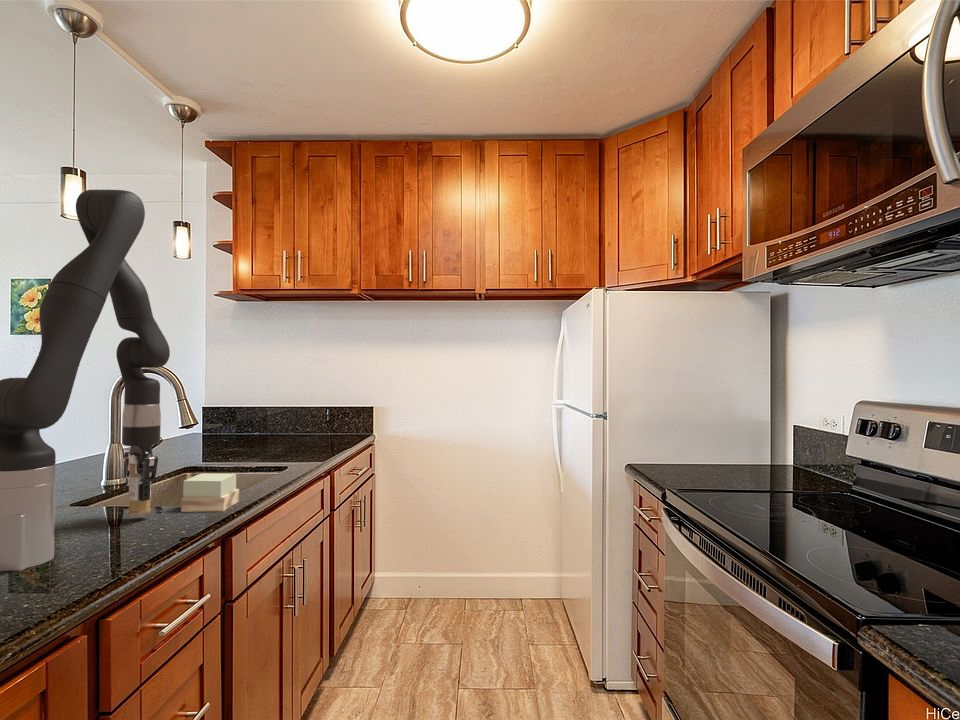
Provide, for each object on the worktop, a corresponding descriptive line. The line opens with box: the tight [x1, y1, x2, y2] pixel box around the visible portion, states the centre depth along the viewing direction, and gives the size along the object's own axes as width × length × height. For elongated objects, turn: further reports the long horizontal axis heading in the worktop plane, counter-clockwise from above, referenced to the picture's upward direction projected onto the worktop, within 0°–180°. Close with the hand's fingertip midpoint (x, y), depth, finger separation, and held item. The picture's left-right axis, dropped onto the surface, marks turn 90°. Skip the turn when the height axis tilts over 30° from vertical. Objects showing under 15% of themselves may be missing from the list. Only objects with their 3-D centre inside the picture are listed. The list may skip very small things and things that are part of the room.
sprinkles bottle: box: [127, 455, 152, 516], centre depth 127 cm, size 5×5×14 cm
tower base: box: [180, 488, 240, 513], centre depth 139 cm, size 10×10×4 cm
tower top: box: [182, 473, 237, 498], centre depth 140 cm, size 9×9×4 cm
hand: (139, 498), depth 127 cm, fingers closed on sprinkles bottle, 4 cm apart
